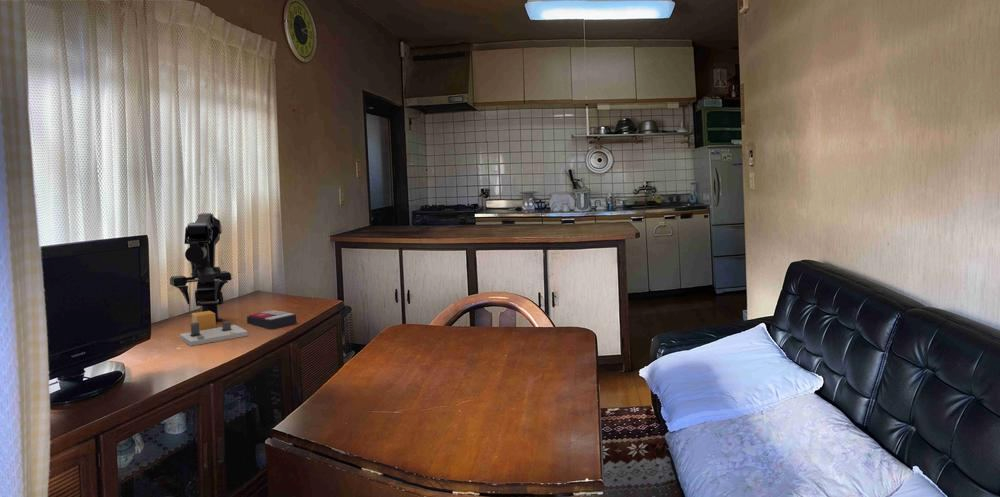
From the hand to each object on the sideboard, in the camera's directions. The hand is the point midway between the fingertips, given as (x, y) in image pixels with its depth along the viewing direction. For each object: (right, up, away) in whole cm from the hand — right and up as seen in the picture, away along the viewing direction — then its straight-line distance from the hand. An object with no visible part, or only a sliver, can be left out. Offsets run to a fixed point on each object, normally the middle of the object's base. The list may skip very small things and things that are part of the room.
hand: (202, 302), depth 204 cm
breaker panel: (+8, -11, -8) cm, 16 cm away
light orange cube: (0, -10, +1) cm, 10 cm away
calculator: (+20, -9, +11) cm, 25 cm away
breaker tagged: (+10, -11, -4) cm, 15 cm away
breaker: (+3, -10, -11) cm, 15 cm away
